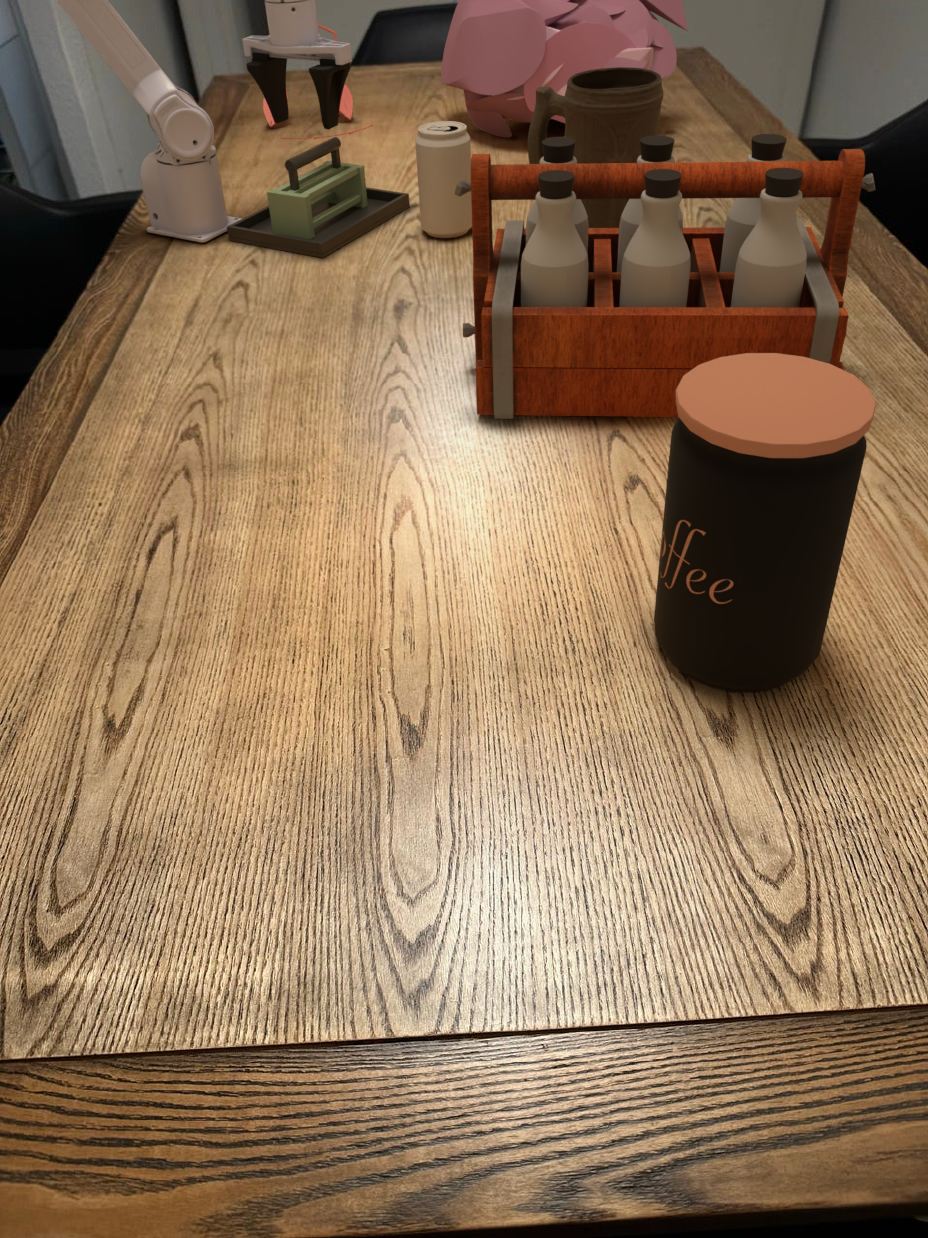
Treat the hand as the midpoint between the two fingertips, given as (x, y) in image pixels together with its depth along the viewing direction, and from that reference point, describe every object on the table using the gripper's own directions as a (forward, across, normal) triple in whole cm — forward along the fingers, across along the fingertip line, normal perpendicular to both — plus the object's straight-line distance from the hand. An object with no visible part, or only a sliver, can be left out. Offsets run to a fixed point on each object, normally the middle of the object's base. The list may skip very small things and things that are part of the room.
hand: (306, 123), depth 132 cm
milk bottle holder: (+11, -56, +24) cm, 62 cm away
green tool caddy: (+10, -4, +4) cm, 11 cm away
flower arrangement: (+11, -14, -45) cm, 48 cm away
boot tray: (+10, -4, +4) cm, 12 cm away
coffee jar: (+11, -76, +58) cm, 96 cm away
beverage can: (+11, -20, 0) cm, 22 cm away
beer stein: (+11, -40, +3) cm, 41 cm away
